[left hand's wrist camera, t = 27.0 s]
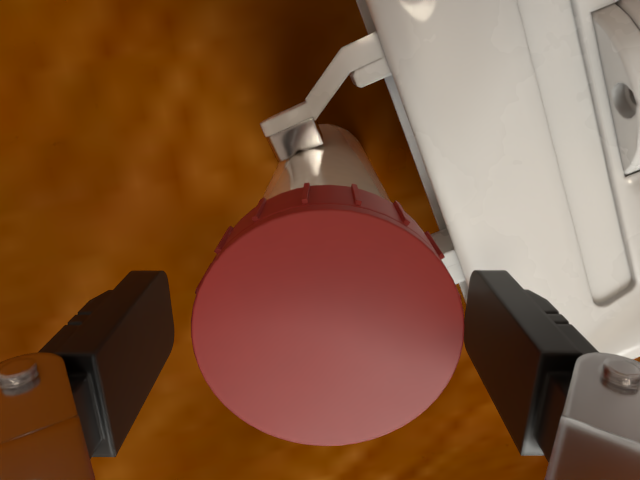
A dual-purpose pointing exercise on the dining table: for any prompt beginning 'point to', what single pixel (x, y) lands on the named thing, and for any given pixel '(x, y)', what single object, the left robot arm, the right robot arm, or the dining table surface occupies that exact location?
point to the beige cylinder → (327, 165)
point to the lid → (327, 317)
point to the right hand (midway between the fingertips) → (302, 211)
